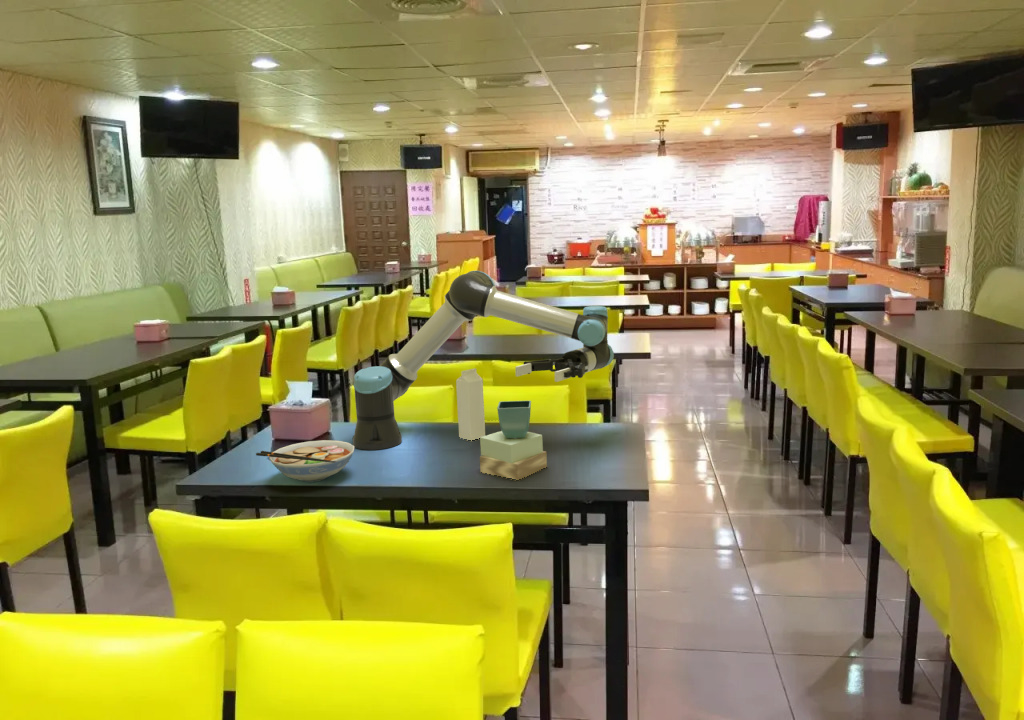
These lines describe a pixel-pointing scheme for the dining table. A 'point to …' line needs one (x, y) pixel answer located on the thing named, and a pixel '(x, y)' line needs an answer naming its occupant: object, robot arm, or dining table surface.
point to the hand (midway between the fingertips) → (535, 374)
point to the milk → (470, 405)
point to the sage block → (511, 446)
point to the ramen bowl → (311, 459)
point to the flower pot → (514, 418)
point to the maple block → (513, 466)
